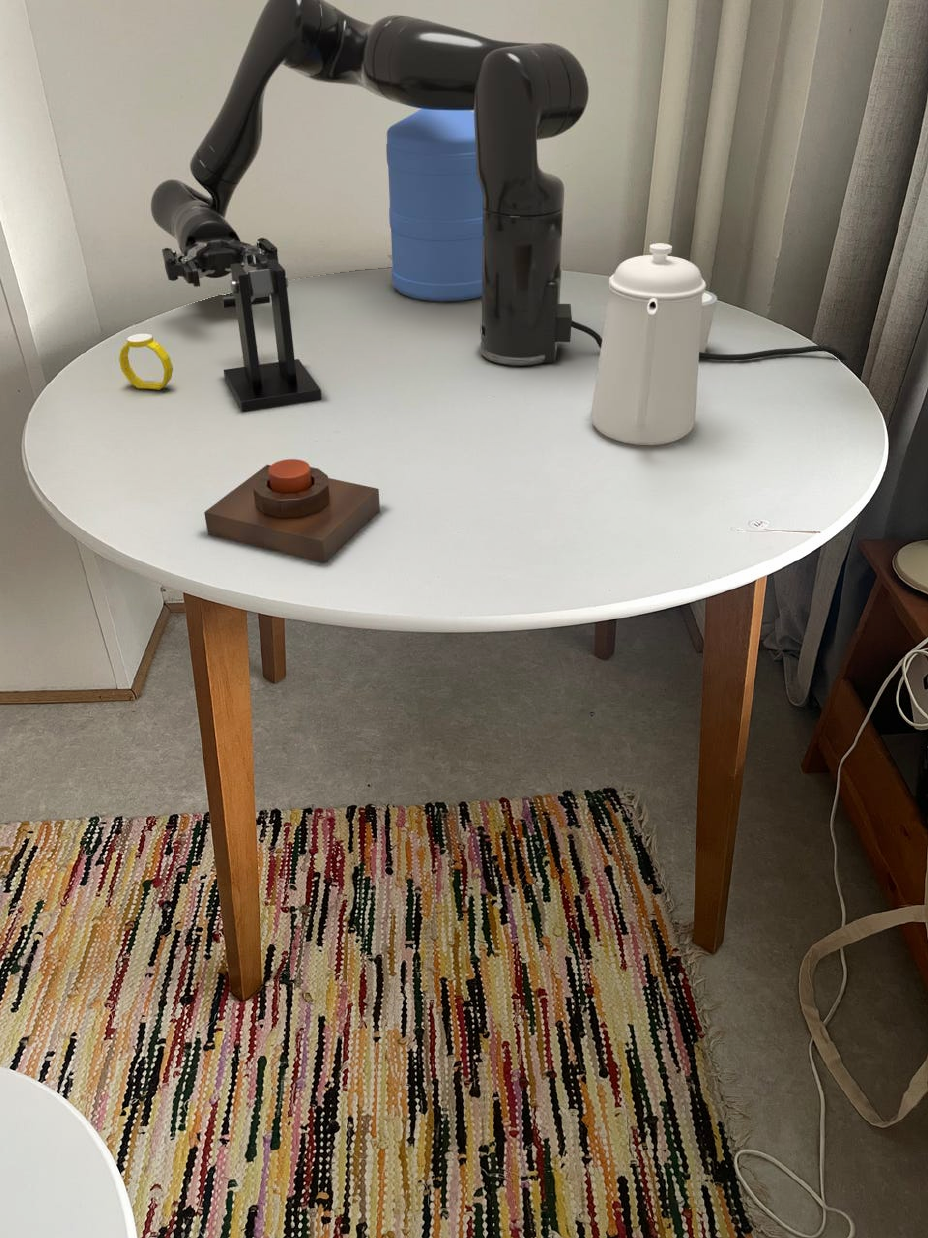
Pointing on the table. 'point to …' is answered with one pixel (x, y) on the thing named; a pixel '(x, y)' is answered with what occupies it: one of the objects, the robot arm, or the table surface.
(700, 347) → the white cup
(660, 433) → the coffeepot
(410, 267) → the water jug
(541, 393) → the table surface
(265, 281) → the lever
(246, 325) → the bracket
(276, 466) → the button
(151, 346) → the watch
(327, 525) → the button block
